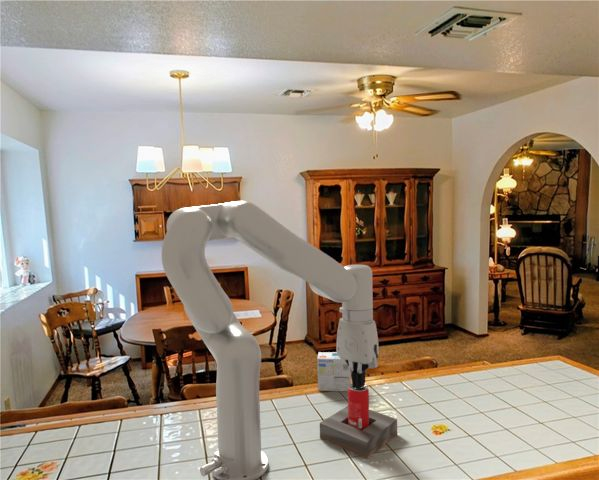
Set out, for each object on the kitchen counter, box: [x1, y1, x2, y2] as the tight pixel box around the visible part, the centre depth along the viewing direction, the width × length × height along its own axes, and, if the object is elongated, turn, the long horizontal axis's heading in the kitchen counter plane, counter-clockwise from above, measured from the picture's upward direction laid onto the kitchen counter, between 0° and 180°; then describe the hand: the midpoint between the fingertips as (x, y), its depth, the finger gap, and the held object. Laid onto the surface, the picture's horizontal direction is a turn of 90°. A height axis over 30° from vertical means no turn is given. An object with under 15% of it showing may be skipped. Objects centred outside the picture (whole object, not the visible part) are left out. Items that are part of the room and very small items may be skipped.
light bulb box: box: [316, 351, 352, 392], centre depth 139 cm, size 11×7×11 cm, turn 84°
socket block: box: [319, 405, 398, 459], centre depth 109 cm, size 14×14×4 cm
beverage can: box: [347, 383, 370, 430], centre depth 108 cm, size 5×5×12 cm
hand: (358, 386), depth 108 cm, fingers closed
